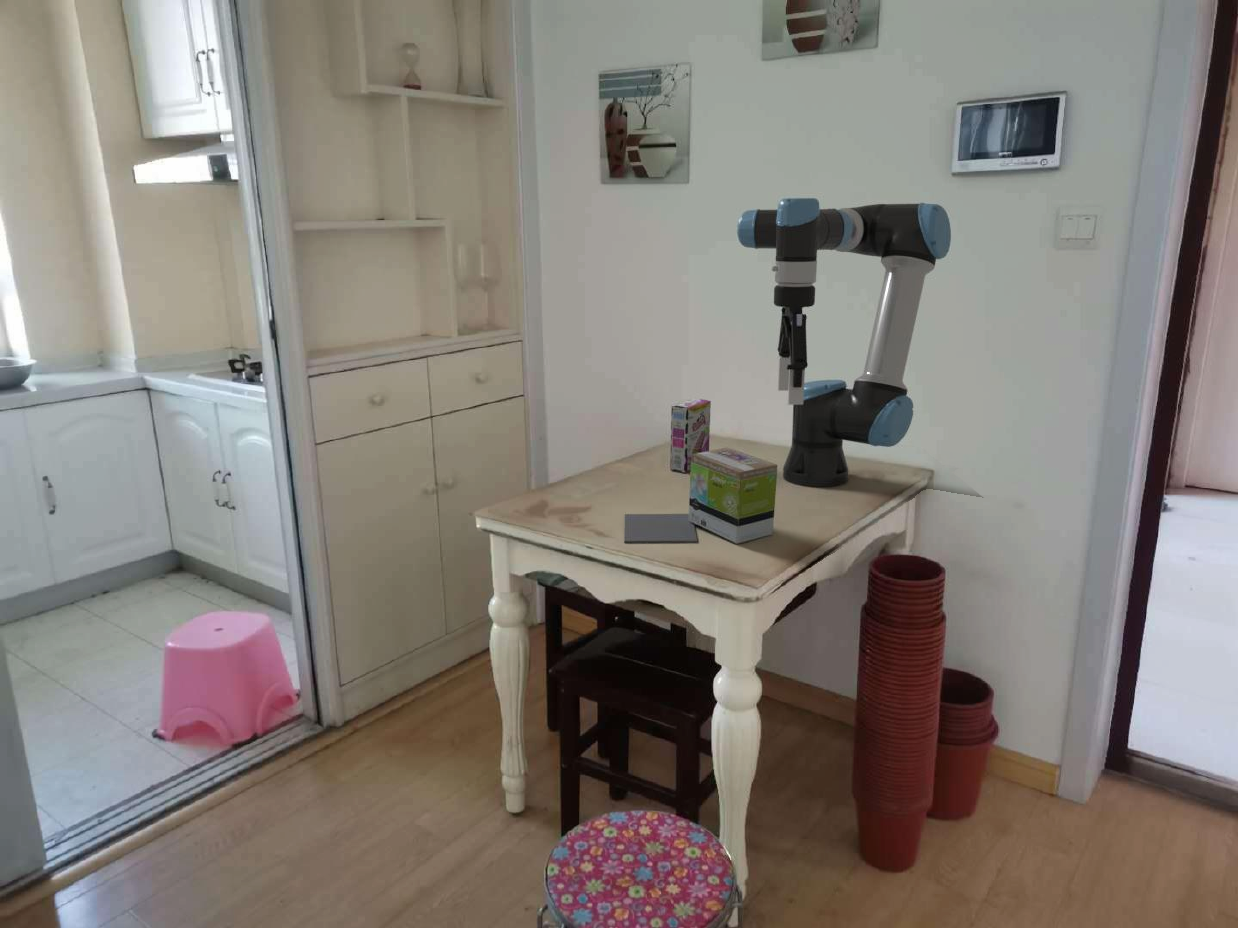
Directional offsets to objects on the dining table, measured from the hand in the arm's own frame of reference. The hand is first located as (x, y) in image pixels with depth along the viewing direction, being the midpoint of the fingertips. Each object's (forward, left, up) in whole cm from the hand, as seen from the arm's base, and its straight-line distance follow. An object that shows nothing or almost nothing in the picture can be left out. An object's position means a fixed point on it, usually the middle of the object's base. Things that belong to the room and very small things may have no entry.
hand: (790, 397), depth 175 cm
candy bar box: (+16, -46, -27) cm, 55 cm away
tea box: (+11, 0, -27) cm, 29 cm away
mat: (+25, -1, -27) cm, 37 cm away
